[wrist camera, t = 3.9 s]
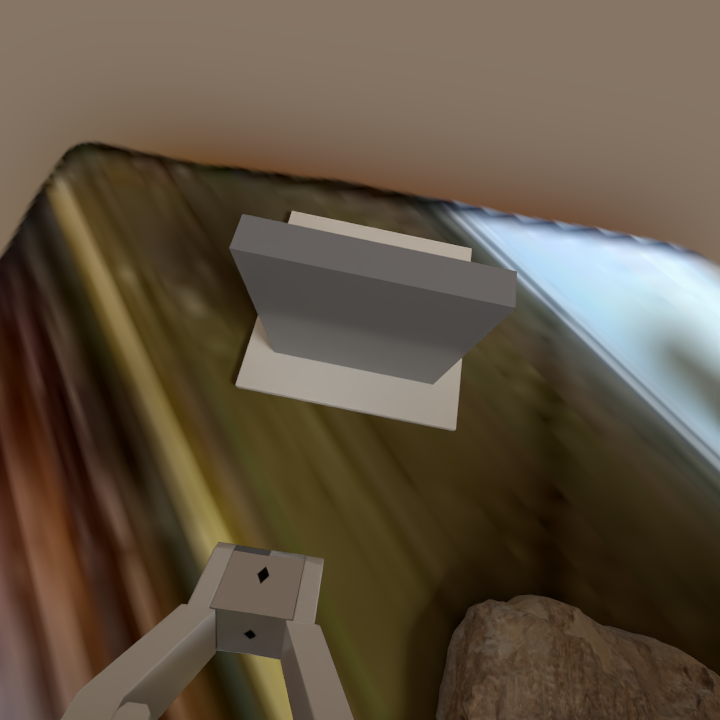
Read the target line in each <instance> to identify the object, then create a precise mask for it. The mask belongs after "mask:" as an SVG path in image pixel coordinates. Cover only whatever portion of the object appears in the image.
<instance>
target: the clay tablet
mask: <svg viewBox="0 0 720 720" xmlns="http://www.w3.org/2000/svg"><path fill="white" fill-rule="evenodd" d="M436 720H720V676H718V675H717V674H716V673H715V672H714V671H712V670H710V669H708V668H707V667H706V666H705V665H703V664H702V663H700V662H699V661H697V660H696V659H695V658H693V657H691V656H690V655H688V654H686V653H685V652H683V651H681V650H680V649H678V648H676V647H673V646H670V645H667V644H665V643H662V642H660V641H659V640H657V639H655V638H652V637H648V636H645V635H641V634H635V633H631V632H628V631H624V630H621V629H618V628H615V627H611V626H603V625H601V624H598V623H597V622H595V621H594V620H592V619H591V618H590V617H588V616H586V615H585V614H583V613H582V612H581V611H580V609H579V608H577V607H574V606H571V605H568V604H565V603H563V602H560V601H557V600H554V599H551V598H548V597H543V596H536V595H521V596H515V597H514V598H512V599H511V600H509V601H507V602H504V601H501V602H498V601H495V600H492V599H488V600H486V601H485V602H483V603H479V604H475V605H473V606H471V607H469V608H468V610H467V612H466V615H465V618H464V619H463V621H462V622H461V623H460V624H459V626H458V627H457V628H456V630H455V631H454V632H453V635H452V638H451V641H450V644H449V647H448V652H447V660H446V665H445V670H444V675H443V679H442V682H441V684H440V687H439V700H438V707H437V712H436Z"/></svg>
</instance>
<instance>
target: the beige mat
mask: <svg viewBox="0 0 720 720" xmlns="http://www.w3.org/2000/svg"><path fill="white" fill-rule="evenodd" d="M288 224H293V225H298V226H302V227H307V228H312V229H317V230H321V231H326V232H331V233H336V234H340V235H345V236H350V237H355V238H359V239H364V240H369V241H374V242H379V243H383V244H388V245H393V246H398V247H402V248H407V249H412V250H417V251H421V252H426V253H431V254H436V255H440V256H445V257H450V258H455V259H459V260H464V261H469V262H471V251H472V249H471V248H466V247H461V246H457V245H452V244H447V243H442V242H438V241H433V240H428V239H423V238H419V237H414V236H409V235H404V234H400V233H395V232H390V231H385V230H381V229H376V228H371V227H366V226H362V225H357V224H352V223H347V222H343V221H338V220H333V219H328V218H324V217H319V216H314V215H309V214H305V213H300V212H295V211H292V213H291V216H290V219H289V222H288ZM461 365H462V358H461V359H460V360H459V361H458V362H457V363H456V364H455V365H454V366H453V367H452V368H450V369H449V370H448V371H447V372H446V373H445V374H444V375H443V376H442V377H441V378H440V379H439V380H438V381H437V382H435V383H434V384H433V385H432V384H427V383H422V382H417V381H413V380H408V379H403V378H398V377H393V376H388V375H383V374H378V373H373V372H368V371H364V370H359V369H354V368H349V367H344V366H339V365H334V364H329V363H324V362H319V361H315V360H310V359H305V358H300V357H295V356H290V355H285V354H280V353H275V352H274V350H273V348H272V346H271V343H270V341H269V339H268V336H267V334H266V332H265V329H264V327H263V325H262V322H261V320H260V318H259V316H258V317H257V320H256V323H255V326H254V329H253V332H252V335H251V338H250V342H249V345H248V348H247V351H246V354H245V357H244V360H243V363H242V366H241V369H240V372H239V375H238V378H237V381H236V385H235V386H236V387H237V388H242V389H247V390H252V391H257V392H262V393H267V394H272V395H277V396H282V397H287V398H292V399H296V400H301V401H306V402H311V403H316V404H321V405H326V406H331V407H336V408H341V409H346V410H351V411H356V412H361V413H366V414H371V415H376V416H380V417H385V418H390V419H395V420H400V421H405V422H410V423H415V424H420V425H425V426H430V427H435V428H440V429H445V430H450V431H455V430H456V422H457V411H458V399H459V388H460V377H461Z"/></svg>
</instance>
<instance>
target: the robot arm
mask: <svg viewBox="0 0 720 720" xmlns="http://www.w3.org/2000/svg"><path fill="white" fill-rule="evenodd" d="M305 558H306V559H305ZM323 563H324V558H318V557H311V556H306V555H301V554H294V553H287V552H280V551H270V550H264V549H258V548H252V547H246V546H240V545H236V544H229V543H223V542H218V544H217V545H216V546H215V548H214V550H213V552H212V554H211V556H210V558H209V560H208V562H207V564H206V567H205V569H204V571H203V573H202V575H201V577H200V579H199V581H198V583H197V586H196V588H195V590H194V592H193V594H192V596H191V598H190V600H189V602H188V605H186V604H181V605H180V606H179V607H178V608H176V609H175V610H174V611H173V612H172V613H171V614H169V615H168V616H167V617H166V618H165V619H163V620H162V621H161V622H160V623H159V624H157V625H156V626H155V627H154V628H153V629H152V630H150V631H149V632H148V633H147V634H146V635H144V636H143V637H142V638H141V639H140V640H139V641H137V642H136V643H135V644H134V645H133V646H131V647H130V648H129V649H128V650H127V651H125V652H124V653H123V654H122V655H121V656H120V657H118V658H117V659H116V660H115V661H114V662H112V663H111V664H110V665H109V666H108V667H107V668H105V669H104V670H103V671H102V672H101V673H99V674H98V675H97V676H96V677H95V678H93V679H92V680H91V681H90V682H89V683H88V684H86V685H85V686H84V687H83V688H82V689H80V690H79V691H78V692H77V694H76V696H75V697H74V699H73V700H72V702H71V704H70V705H69V707H68V708H67V710H66V712H65V713H64V715H63V717H62V718H61V720H158V718H159V717H160V716H161V715H162V714H163V713H164V712H165V710H166V709H167V708H168V707H169V706H170V705H171V703H172V702H173V701H174V700H175V699H176V698H177V697H178V695H179V694H180V693H181V692H182V691H183V690H184V689H185V687H186V686H187V685H188V684H189V683H190V682H191V680H192V679H193V678H194V677H195V676H196V675H197V674H198V672H199V671H200V670H201V669H202V668H203V667H204V666H205V664H206V663H207V662H208V661H209V660H210V659H211V657H212V656H213V655H214V654H215V653H216V650H221V651H229V652H238V653H247V654H253V655H258V656H264V657H269V658H275V659H280V660H281V666H282V670H283V675H284V679H285V684H286V688H287V693H288V697H289V702H290V706H291V711H292V715H293V720H354V719H353V716H352V713H351V711H350V708H349V705H348V702H347V699H346V697H345V694H344V691H343V688H342V686H341V683H340V680H339V677H338V674H337V672H336V669H335V666H334V663H333V661H332V658H331V655H330V652H329V650H328V647H327V644H326V641H325V638H324V636H323V633H322V630H321V627H320V625H316V624H314V623H315V617H316V610H317V603H318V597H319V590H320V583H321V577H322V570H323Z"/></svg>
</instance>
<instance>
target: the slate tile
mask: <svg viewBox="0 0 720 720" xmlns="http://www.w3.org/2000/svg"><path fill="white" fill-rule="evenodd" d="M229 249H230V251H231V253H232V256H233V258H234V260H235V263H236V265H237V267H238V269H239V272H240V274H241V276H242V279H243V281H244V283H245V286H246V288H247V290H248V293H249V295H250V297H251V299H252V302H253V304H254V306H255V309H256V311H257V313H258V316H259V318H260V320H261V322H262V325H263V327H264V329H265V332H266V334H267V336H268V339H269V341H270V343H271V346H272V348H273V350H274V352H275V353H280V354H285V355H290V356H295V357H300V358H305V359H310V360H315V361H319V362H324V363H329V364H334V365H339V366H344V367H349V368H354V369H359V370H364V371H368V372H373V373H378V374H383V375H388V376H393V377H398V378H403V379H408V380H413V381H417V382H422V383H427V384H432V385H433V384H434V383H435V382H437V381H438V380H439V379H440V378H441V377H442V376H443V375H444V374H445V373H446V372H447V371H448V370H449V369H450V368H452V367H453V366H454V365H455V364H456V363H457V362H458V361H459V360H460V359H461V358H462V357H463V356H464V355H465V354H467V353H468V352H469V351H470V350H471V349H472V348H473V347H474V346H475V345H476V344H477V343H478V342H479V341H480V340H482V339H483V338H484V337H485V336H486V335H487V334H488V333H489V332H490V331H491V330H492V329H493V328H494V327H495V326H497V325H498V324H499V323H500V322H501V321H502V320H503V319H504V318H505V317H506V316H507V315H508V314H509V313H510V312H512V311H513V310H514V309H515V308H516V277H517V271H512V270H507V269H502V268H498V267H493V266H488V265H483V264H479V263H474V262H469V261H464V260H459V259H455V258H450V257H445V256H440V255H436V254H431V253H426V252H421V251H417V250H412V249H407V248H402V247H398V246H393V245H388V244H383V243H379V242H374V241H369V240H364V239H359V238H355V237H350V236H345V235H340V234H336V233H331V232H326V231H321V230H317V229H312V228H307V227H302V226H298V225H293V224H288V223H283V222H278V221H274V220H269V219H264V218H259V217H255V216H250V215H245V214H242V217H241V219H240V222H239V224H238V227H237V229H236V232H235V235H234V237H233V240H232V242H231V245H230V247H229Z"/></svg>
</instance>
